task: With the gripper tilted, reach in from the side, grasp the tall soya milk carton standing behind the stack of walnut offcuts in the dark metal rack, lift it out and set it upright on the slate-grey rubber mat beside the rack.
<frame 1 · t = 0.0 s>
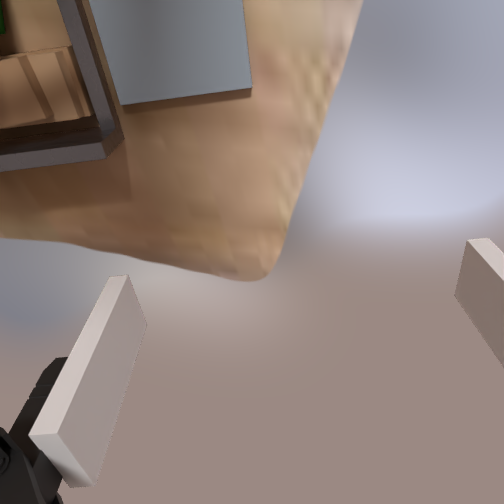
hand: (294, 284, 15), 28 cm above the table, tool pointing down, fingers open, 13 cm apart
mat: (171, 17, 34), on the table
offcut stack: (7, 91, 37), resting in rack
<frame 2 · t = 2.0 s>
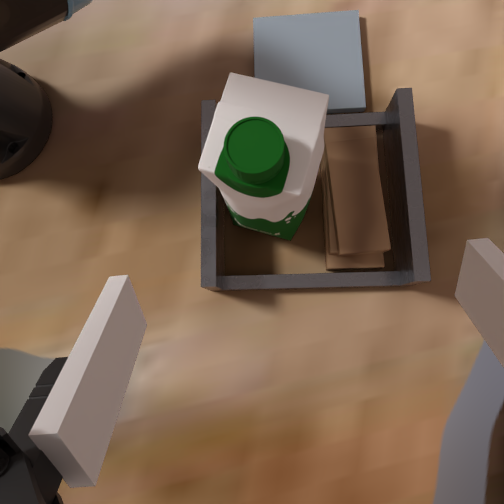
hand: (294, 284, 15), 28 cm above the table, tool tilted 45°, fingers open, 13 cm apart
mat: (307, 66, 47), on the table
rack: (305, 202, 44), on the table
soya milk: (270, 204, 45), resting in rack
offcut stack: (348, 200, 44), resting in rack
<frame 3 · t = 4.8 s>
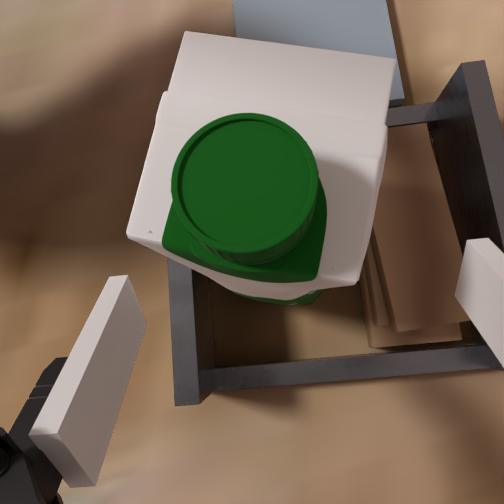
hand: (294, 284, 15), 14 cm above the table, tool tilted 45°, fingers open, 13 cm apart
mat: (312, 48, 33), on the table
rack: (327, 244, 30), on the table
soya milk: (276, 250, 30), resting in rack
offcut stack: (392, 237, 29), resting in rack
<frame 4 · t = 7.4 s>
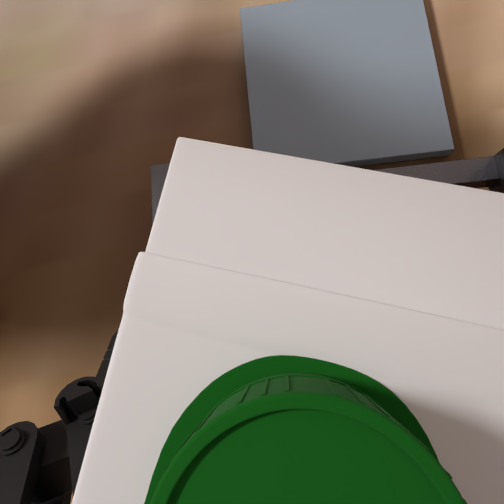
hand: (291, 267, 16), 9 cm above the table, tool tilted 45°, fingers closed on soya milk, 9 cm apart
mat: (338, 83, 27), on the table
rack: (359, 331, 24), on the table
soya milk: (295, 337, 24), resting in rack, touching gripper
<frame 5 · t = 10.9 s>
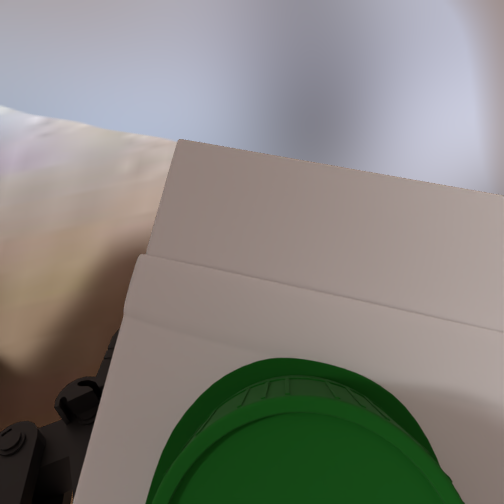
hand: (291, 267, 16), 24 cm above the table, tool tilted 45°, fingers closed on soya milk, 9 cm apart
soya milk: (295, 338, 24), point 15 cm above the table, touching gripper
when the fingers open (11 cm above the table, at t = 14.7 s): soya milk drops 1 cm, resting on mat.
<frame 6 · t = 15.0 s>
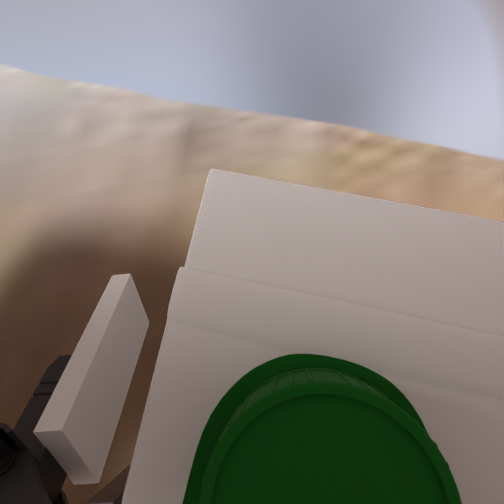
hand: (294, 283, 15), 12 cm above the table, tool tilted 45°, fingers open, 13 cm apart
soya milk: (301, 337, 26), point 1 cm above the table, touching mat
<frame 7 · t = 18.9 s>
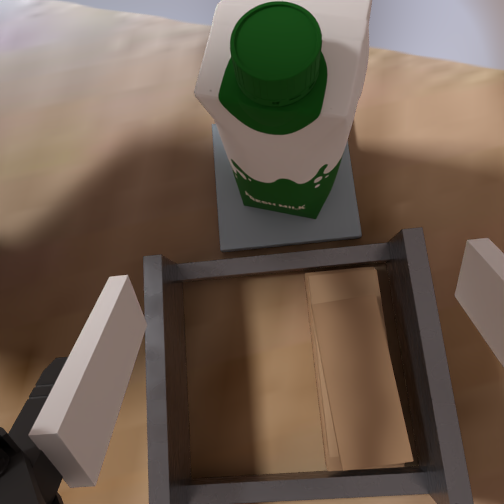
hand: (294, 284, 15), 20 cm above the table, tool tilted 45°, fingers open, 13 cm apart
mat: (283, 181, 37), on the table
rack: (291, 367, 34), on the table
soya milk: (287, 178, 36), point 1 cm above the table, touching mat
offcut stack: (348, 362, 33), resting in rack
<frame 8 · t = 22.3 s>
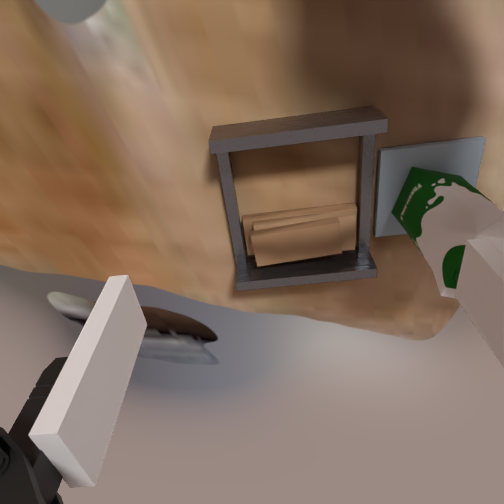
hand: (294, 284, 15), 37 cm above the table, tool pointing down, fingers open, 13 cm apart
mat: (423, 188, 53), on the table
rack: (297, 196, 53), on the table
soya milk: (425, 194, 52), point 1 cm above the table, touching mat
offcut stack: (299, 227, 56), resting in rack
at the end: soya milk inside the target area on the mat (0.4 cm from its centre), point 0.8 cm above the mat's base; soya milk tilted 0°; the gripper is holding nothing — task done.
